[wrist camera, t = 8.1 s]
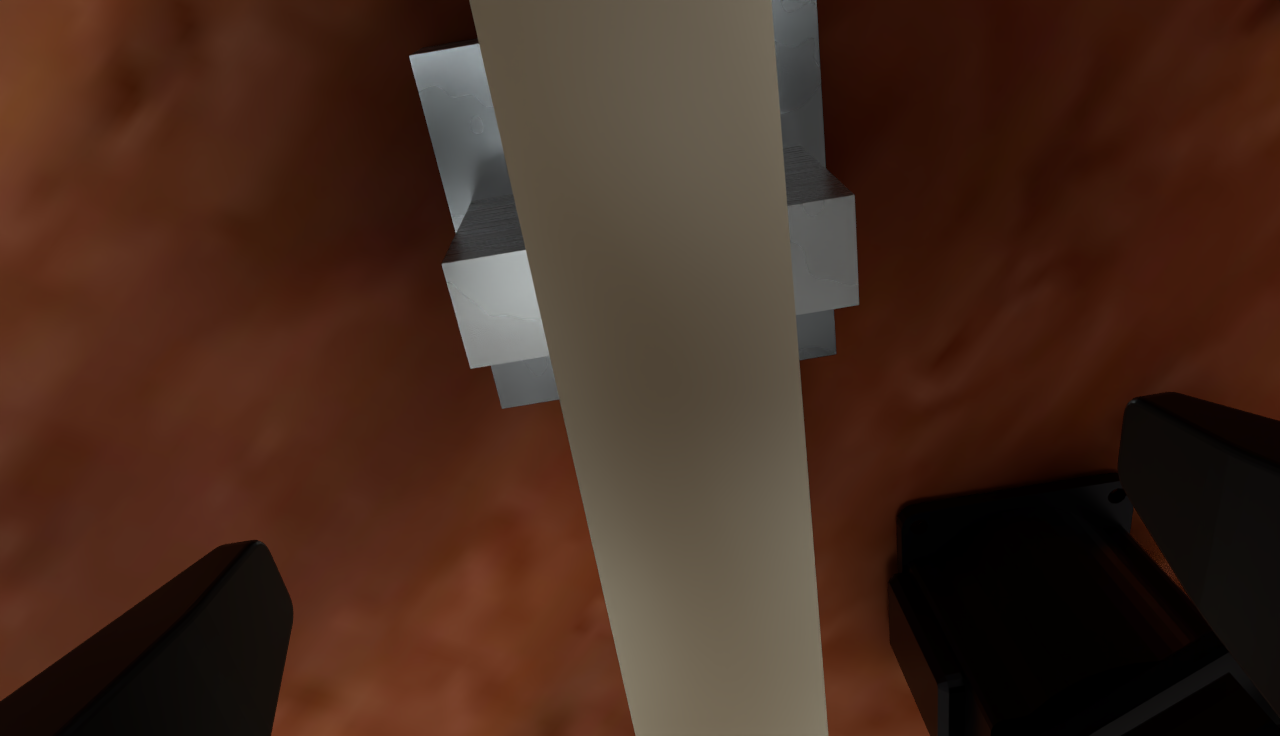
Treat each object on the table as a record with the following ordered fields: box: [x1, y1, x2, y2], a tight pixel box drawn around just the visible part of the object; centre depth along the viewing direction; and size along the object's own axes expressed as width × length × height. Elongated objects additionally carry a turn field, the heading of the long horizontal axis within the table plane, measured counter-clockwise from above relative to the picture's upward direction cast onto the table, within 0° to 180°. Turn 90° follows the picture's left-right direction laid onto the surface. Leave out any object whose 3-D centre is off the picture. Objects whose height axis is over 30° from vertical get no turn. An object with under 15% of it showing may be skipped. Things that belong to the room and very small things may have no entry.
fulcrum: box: [409, 0, 859, 409], centre depth 17 cm, size 8×8×6 cm
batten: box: [469, 0, 828, 736], centre depth 12 cm, size 3×18×5 cm, turn 9°
